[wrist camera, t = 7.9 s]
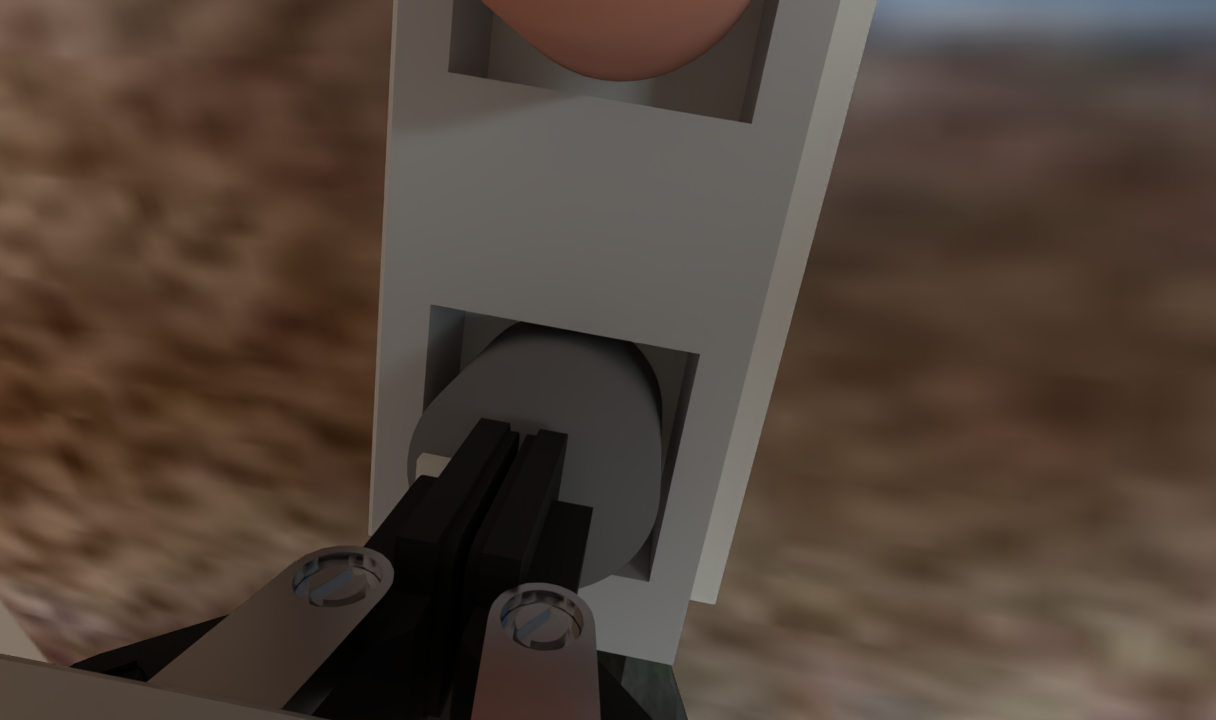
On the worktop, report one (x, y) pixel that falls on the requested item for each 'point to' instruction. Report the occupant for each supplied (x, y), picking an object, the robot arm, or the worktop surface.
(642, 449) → the knob
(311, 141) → the worktop surface
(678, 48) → the knob mid
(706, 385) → the knob panel
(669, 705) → the bottle
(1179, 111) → the worktop surface
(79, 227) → the worktop surface
